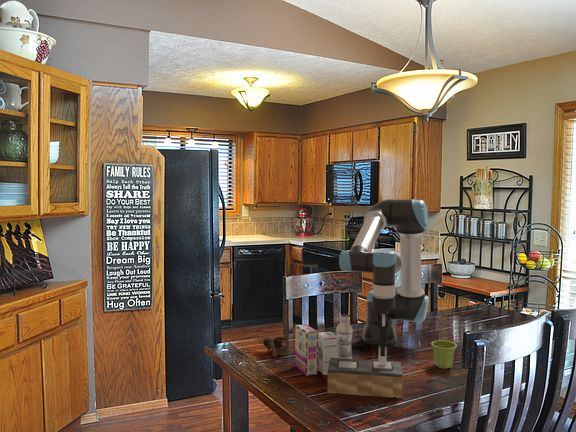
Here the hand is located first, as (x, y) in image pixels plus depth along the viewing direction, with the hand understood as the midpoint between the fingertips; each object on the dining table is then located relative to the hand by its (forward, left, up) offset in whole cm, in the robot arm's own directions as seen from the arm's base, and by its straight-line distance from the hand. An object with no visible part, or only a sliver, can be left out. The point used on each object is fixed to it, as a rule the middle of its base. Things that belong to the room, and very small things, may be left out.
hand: (382, 364), depth 172 cm
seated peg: (0, -12, -9) cm, 15 cm away
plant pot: (-27, +24, -9) cm, 37 cm away
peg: (0, 0, -8) cm, 8 cm away
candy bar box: (-13, -28, -9) cm, 32 cm away
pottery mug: (-30, -43, -9) cm, 53 cm away
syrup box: (-13, -20, -9) cm, 26 cm away
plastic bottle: (-19, -14, -9) cm, 25 cm away
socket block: (0, -6, -9) cm, 11 cm away
